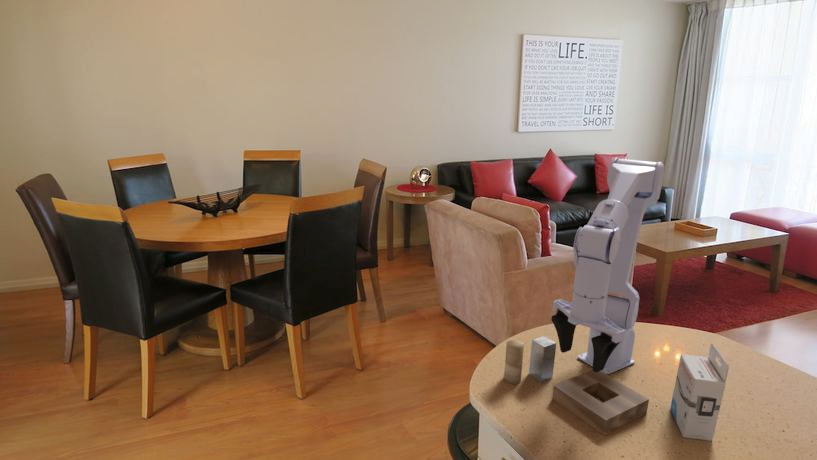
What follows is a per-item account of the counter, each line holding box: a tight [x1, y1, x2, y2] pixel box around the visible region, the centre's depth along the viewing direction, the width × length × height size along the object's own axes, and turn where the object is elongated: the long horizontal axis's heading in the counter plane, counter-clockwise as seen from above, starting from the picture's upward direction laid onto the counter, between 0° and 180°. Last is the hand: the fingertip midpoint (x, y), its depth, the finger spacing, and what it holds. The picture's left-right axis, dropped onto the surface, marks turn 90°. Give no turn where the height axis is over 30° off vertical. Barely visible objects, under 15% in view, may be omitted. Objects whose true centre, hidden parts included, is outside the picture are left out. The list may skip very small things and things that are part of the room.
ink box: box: [670, 342, 730, 442], centre depth 91 cm, size 9×5×15 cm, turn 168°
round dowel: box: [503, 339, 525, 385], centre depth 105 cm, size 3×3×8 cm
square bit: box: [528, 335, 557, 383], centre depth 106 cm, size 3×3×8 cm
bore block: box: [551, 369, 650, 436], centre depth 97 cm, size 12×12×3 cm
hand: (581, 360), depth 95 cm, fingers open, 7 cm apart
